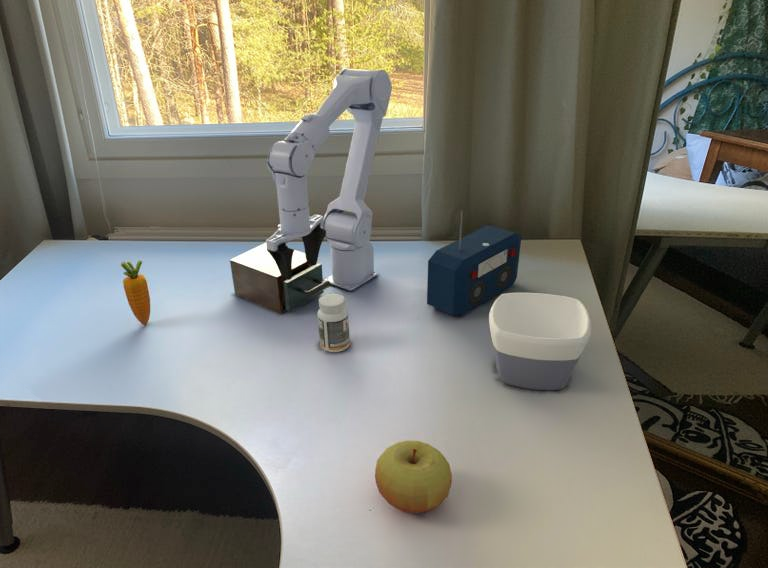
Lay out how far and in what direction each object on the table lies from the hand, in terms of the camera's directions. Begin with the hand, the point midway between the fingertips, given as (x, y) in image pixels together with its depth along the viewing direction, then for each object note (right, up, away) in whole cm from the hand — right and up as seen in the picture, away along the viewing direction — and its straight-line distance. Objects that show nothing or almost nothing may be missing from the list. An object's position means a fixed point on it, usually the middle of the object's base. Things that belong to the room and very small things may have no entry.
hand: (299, 270), depth 125 cm
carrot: (-32, -11, +6) cm, 35 cm away
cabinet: (-5, -4, +13) cm, 14 cm away
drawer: (-1, -5, +9) cm, 10 cm away
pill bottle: (+7, -15, -7) cm, 18 cm away
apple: (+15, -35, -41) cm, 55 cm away
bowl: (+39, -19, -19) cm, 48 cm away
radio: (+36, -5, +4) cm, 37 cm away
